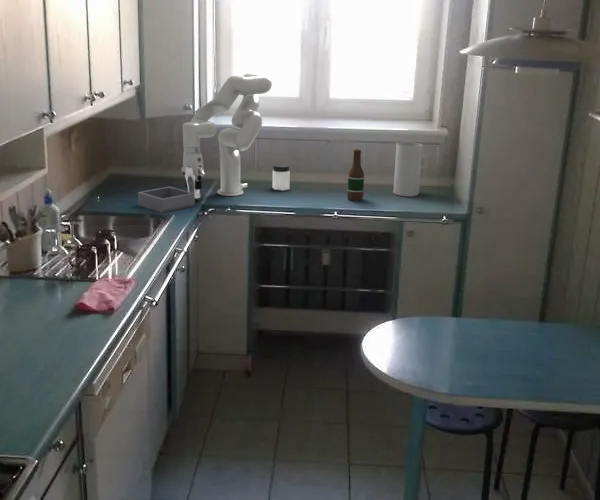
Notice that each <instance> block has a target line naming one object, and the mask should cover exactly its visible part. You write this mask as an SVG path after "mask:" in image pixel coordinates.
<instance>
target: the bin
mask: <svg viewBox="0 0 600 500" xmlns="http://www.w3.org/2000/svg"><path fill="white" fill-rule="evenodd" d="M195 202H196V200H195V193H192V192H188V190H184V189H181V188H177V187H173V186H165V187H159V188H153V189H148V190H144V191H143V190H142V191H137V205H138V206H139V207H143V208H146V209H149V210H151V211H155V212H158V213H161V214H163V213H165V214H166V213H170V212H173V211H178V210H183V209H188V208H193V207H195V206H196V203H195Z"/></svg>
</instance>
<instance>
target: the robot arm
mask: <svg viewBox="0 0 600 500" xmlns="http://www.w3.org/2000/svg"><path fill="white" fill-rule="evenodd" d="M272 85H273V82H272V80H271V77H269V76H267V74H261V73H260V74H259V73H251V72H249V73H245V74H244V75H243V76H238V75H236V76H235V75H231V76H229V77H228V78H227V79H226V81H225V82H224V84H223V85H222V87H220V89H219V90H218V92H217V94H216V95H214V97H213V99H211V100H210V101H209V102H207V103H206V104H205V105H203V106H201V107H200V108H199V109H198V110H197V111H196V113H194V116H193V117H192V118H191V120H190V122H189V121H188V122H185V123H183V124H182V137H183V138H182V139H183V140H182V141H183V155H182V167H181V169H180V171H181V173H182V174H183V177H184V179H185V180H184V183H185V187H186V188H188V186H187V182H186V174H185V171H186V166H187V167H192V170H193V174H194V175H195V178H196V181H195V187H196V190H198V189H199V190H201V189H202V188H203V186H202V185H203V183H202V181H203V179H204V177H205V175H206V173H205V172H204V171H205V168H204V160H203V158H204V157H203V154H202V153H201V138H204V139H205V138H206V139H207V138H209V139H210V138H213V137H214V136H215V135H216V134H217V131H218V128H217V125H216V124H215V123H214V122H213V121H211V120H210V119H211V118H213V117H215V116H217V115H219V114H223V113H225V112H227V111H229V110H230V109H231V107H232V105H234V102H235V101H236V100H237V98H238V97H239V96H242V99H241V102H240V104H239V105H238V107H237V109H236V110H235V112H234V114H233V116H232V117H231V125H232V127H234V128H232V127H226V128H223V129H222V130H220V132H219V134H218V137H217V138H218V145H219V153H220V154H219V155H220V188H219V189H218V190H217V194H218V195H219V196H226V197H237V196H241V195H243V194H244V190H243V189H244V188H248V183H242V182H241V154H240V153H241V152H244V151H247V150H248V149H249V148H250V147H251V146H252V144H253V143H254V141H255V139H256V138H257V136H258V134H259V132H260V131H261V128H262V126H263V118H262V115H261V114H260V113H259V112H257V111H258V110H259V107H260V95H263V94H266V93H268V92H269V91H270V90H271V89H272ZM198 170H199V174H197V172H198ZM198 175H199V177H198Z"/></svg>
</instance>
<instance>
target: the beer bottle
mask: <svg viewBox="0 0 600 500" xmlns="http://www.w3.org/2000/svg"><path fill="white" fill-rule="evenodd" d="M361 153H362V150H361V149H353V158H352V164H351V167H350V168H349V169H348V170H349V171H348V173H347V174H348V175H347V189H346V198H347V200H348V201H352V202H360V201H363V199H364V190H365V189H364V185H365V184H364V183H365V172H364V170H363V168H362V165H361V159H362V158H361Z"/></svg>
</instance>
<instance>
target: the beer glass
mask: <svg viewBox="0 0 600 500" xmlns="http://www.w3.org/2000/svg"><path fill="white" fill-rule="evenodd" d="M185 174H186V178H185V179H186V182H187V186H188V187H187V191H188V192H192V193H195V199H196V200H197V199H198V200H199V199H200V198H201V191H200V189H198V190H196V187H195V181H196V178H195V175H194V174H193V170H192V167H187V166H186V171H185ZM197 174H199V170H198V172H197ZM198 177H199V175H198Z"/></svg>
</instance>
